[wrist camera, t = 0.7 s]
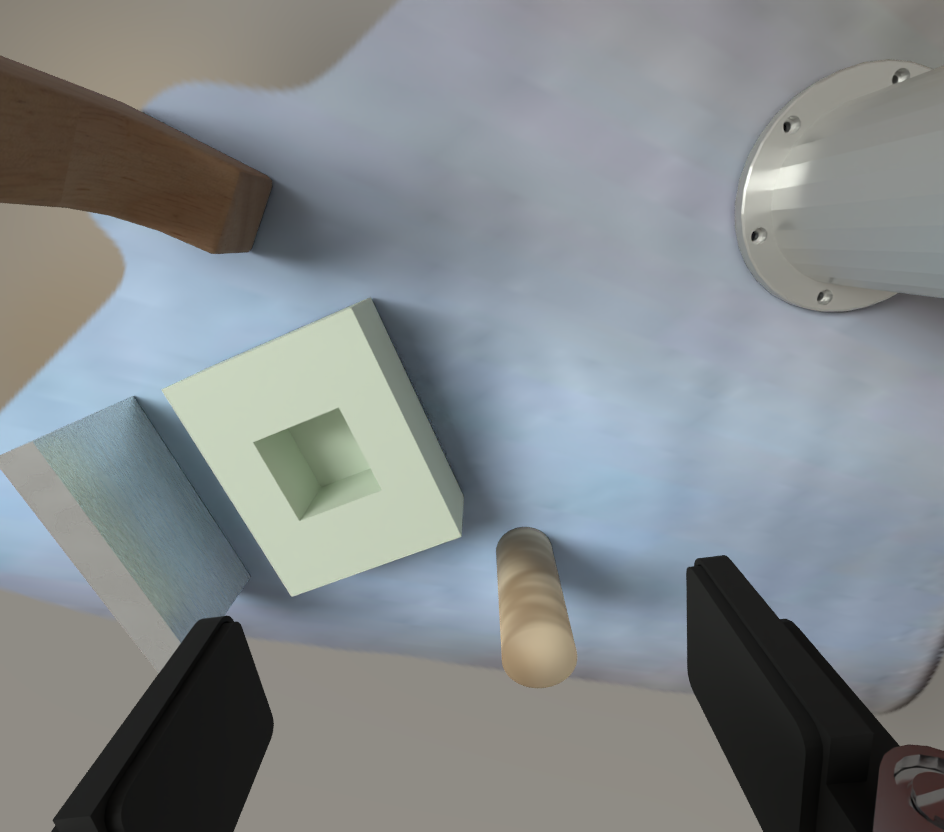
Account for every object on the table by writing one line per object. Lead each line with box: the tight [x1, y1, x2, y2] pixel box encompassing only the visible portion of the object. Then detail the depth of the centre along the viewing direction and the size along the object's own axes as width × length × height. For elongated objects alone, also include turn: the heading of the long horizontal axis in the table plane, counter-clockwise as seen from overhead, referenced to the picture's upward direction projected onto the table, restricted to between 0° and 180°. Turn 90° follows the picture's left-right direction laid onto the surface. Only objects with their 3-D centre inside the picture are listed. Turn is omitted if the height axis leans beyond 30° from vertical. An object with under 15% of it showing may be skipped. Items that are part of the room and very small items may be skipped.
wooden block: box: [0, 56, 272, 254], centre depth 21 cm, size 9×4×18 cm, turn 64°
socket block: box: [162, 297, 464, 597], centre depth 32 cm, size 12×14×5 cm
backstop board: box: [0, 396, 251, 673], centre depth 32 cm, size 2×15×8 cm, turn 23°
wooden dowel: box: [496, 527, 577, 688], centre depth 32 cm, size 4×4×10 cm
